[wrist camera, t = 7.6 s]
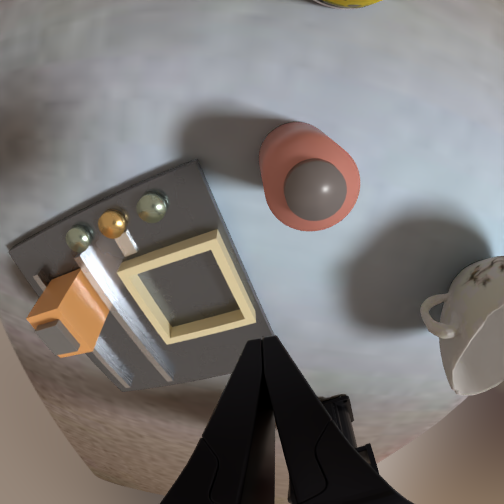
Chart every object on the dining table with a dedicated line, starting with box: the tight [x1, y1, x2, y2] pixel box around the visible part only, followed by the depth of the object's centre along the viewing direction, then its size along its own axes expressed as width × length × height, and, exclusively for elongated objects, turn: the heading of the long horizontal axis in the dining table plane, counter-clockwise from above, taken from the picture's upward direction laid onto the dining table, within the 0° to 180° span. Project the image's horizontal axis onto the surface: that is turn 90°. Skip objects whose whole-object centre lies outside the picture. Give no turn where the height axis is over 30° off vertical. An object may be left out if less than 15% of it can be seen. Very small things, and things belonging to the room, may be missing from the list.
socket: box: [117, 229, 256, 345], centre depth 22 cm, size 7×7×1 cm
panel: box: [9, 159, 274, 392], centre depth 24 cm, size 18×17×2 cm
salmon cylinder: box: [259, 122, 360, 231], centre depth 16 cm, size 4×4×6 cm
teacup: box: [420, 256, 504, 395], centre depth 21 cm, size 15×12×8 cm
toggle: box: [26, 269, 110, 358], centre depth 20 cm, size 4×4×5 cm
